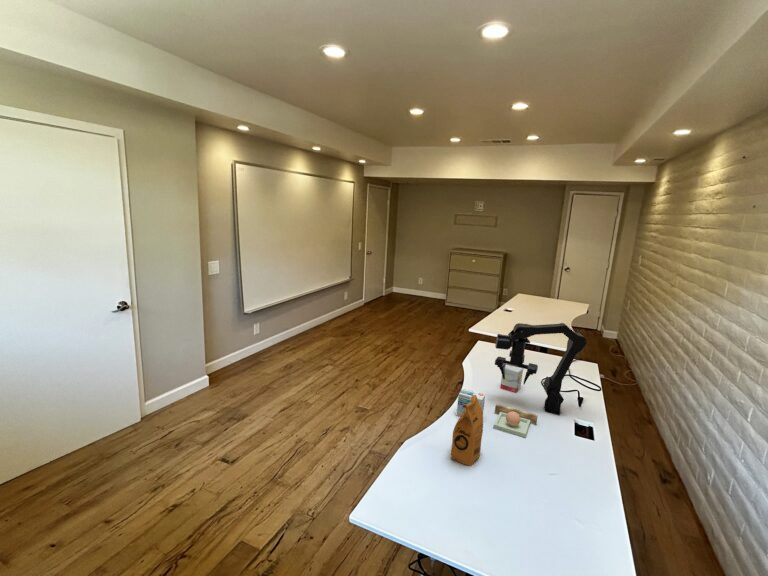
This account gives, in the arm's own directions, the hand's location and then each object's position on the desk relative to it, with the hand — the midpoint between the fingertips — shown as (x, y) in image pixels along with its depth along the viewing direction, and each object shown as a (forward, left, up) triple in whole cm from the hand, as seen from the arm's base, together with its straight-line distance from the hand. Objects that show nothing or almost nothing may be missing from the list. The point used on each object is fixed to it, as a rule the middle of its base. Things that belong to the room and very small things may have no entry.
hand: (513, 381), depth 182 cm
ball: (-4, +20, -12) cm, 23 cm away
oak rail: (-4, +12, -12) cm, 17 cm away
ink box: (+4, -20, -12) cm, 24 cm away
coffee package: (+7, +52, -12) cm, 54 cm away
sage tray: (-4, +20, -12) cm, 24 cm away
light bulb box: (+14, +22, -12) cm, 29 cm away
